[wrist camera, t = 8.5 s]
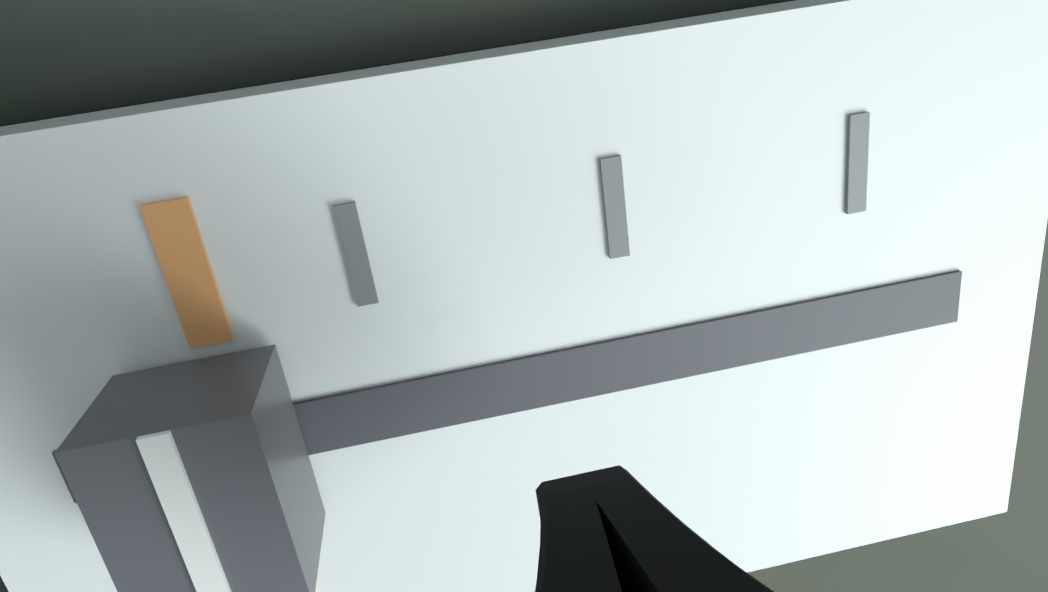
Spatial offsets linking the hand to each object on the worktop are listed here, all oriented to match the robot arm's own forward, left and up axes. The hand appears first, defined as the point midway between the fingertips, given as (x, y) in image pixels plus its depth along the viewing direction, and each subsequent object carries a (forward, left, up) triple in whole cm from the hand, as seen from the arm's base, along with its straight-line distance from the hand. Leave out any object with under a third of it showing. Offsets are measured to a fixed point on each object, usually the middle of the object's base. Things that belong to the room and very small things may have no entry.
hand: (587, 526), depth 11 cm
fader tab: (0, +6, -4) cm, 8 cm away
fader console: (0, 0, -7) cm, 7 cm away
